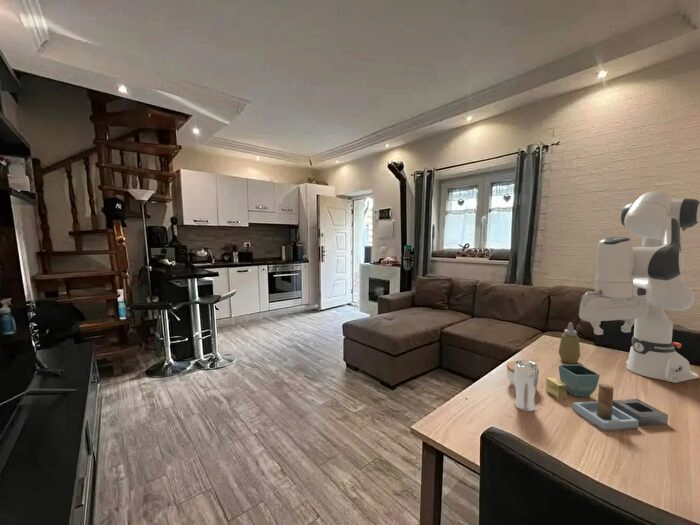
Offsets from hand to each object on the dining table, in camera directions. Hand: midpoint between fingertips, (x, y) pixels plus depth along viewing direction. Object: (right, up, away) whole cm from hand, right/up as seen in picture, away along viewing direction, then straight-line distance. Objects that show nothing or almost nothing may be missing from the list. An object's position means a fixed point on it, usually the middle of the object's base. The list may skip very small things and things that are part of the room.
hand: (612, 333), depth 93 cm
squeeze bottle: (+18, -23, +43) cm, 52 cm away
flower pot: (+1, -26, +16) cm, 30 cm away
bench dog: (-7, -26, +15) cm, 31 cm away
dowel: (-2, -27, 0) cm, 27 cm away
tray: (-2, -27, 0) cm, 27 cm away
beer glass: (-23, -27, +8) cm, 36 cm away
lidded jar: (-16, -26, +21) cm, 37 cm away
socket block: (+10, -27, +1) cm, 29 cm away
